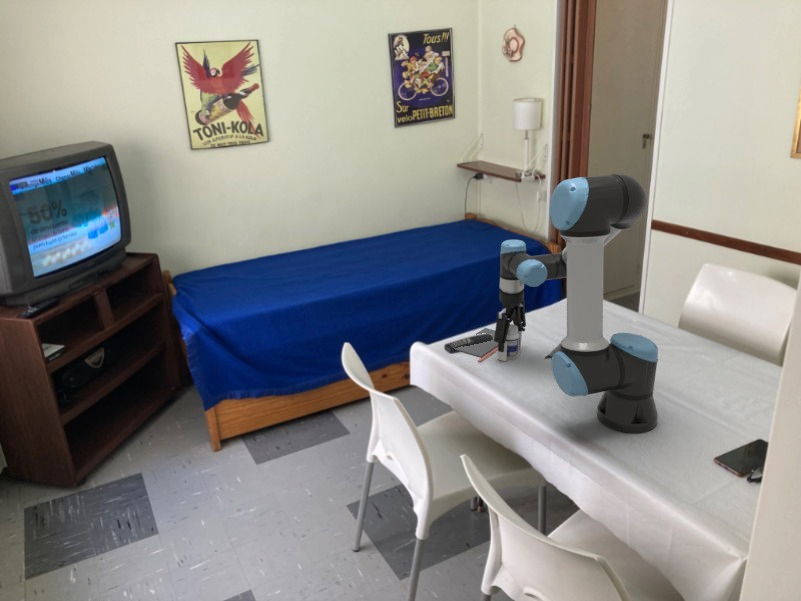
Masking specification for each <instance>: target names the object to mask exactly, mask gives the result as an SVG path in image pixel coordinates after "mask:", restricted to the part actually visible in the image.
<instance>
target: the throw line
mask: <svg viewBox="0 0 801 601" xmlns="http://www.w3.org/2000/svg"><path fill="white" fill-rule="evenodd" d="M496 352H498V347H496V348H495V349H494V350H492V351H491V352H489V353H488V354H486V355H485V356H483V357H482V358H479V359H478V360H477V363H482V362H483V361H484V360H486V359H488V358H489V357H491V356H492V355H494V354H495V353H496Z"/></svg>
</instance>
